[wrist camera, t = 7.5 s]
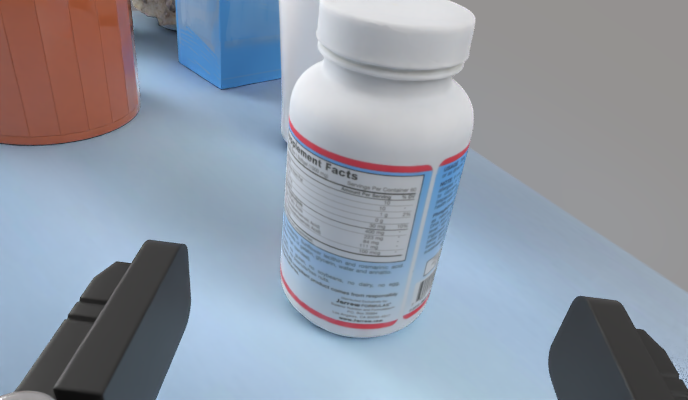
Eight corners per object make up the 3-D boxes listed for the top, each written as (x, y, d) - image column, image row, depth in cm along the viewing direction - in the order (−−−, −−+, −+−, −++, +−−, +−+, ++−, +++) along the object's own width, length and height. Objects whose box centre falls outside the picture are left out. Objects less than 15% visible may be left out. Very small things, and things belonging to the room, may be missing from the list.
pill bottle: (366, 228, 25) (409, -22, 19) (457, 309, 21) (547, 27, 15) (251, 266, 22) (258, -20, 16) (332, 370, 18) (382, 43, 12)
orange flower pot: (-50, 157, 26) (-116, -38, 21) (-45, 83, 33) (-93, -76, 28) (157, 132, 31) (142, -33, 26) (123, 72, 38) (106, -67, 33)
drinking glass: (300, 178, 28) (328, -157, 20) (250, 125, 33) (256, -164, 25) (399, 157, 31) (458, -137, 23) (341, 112, 36) (373, -146, 28)
